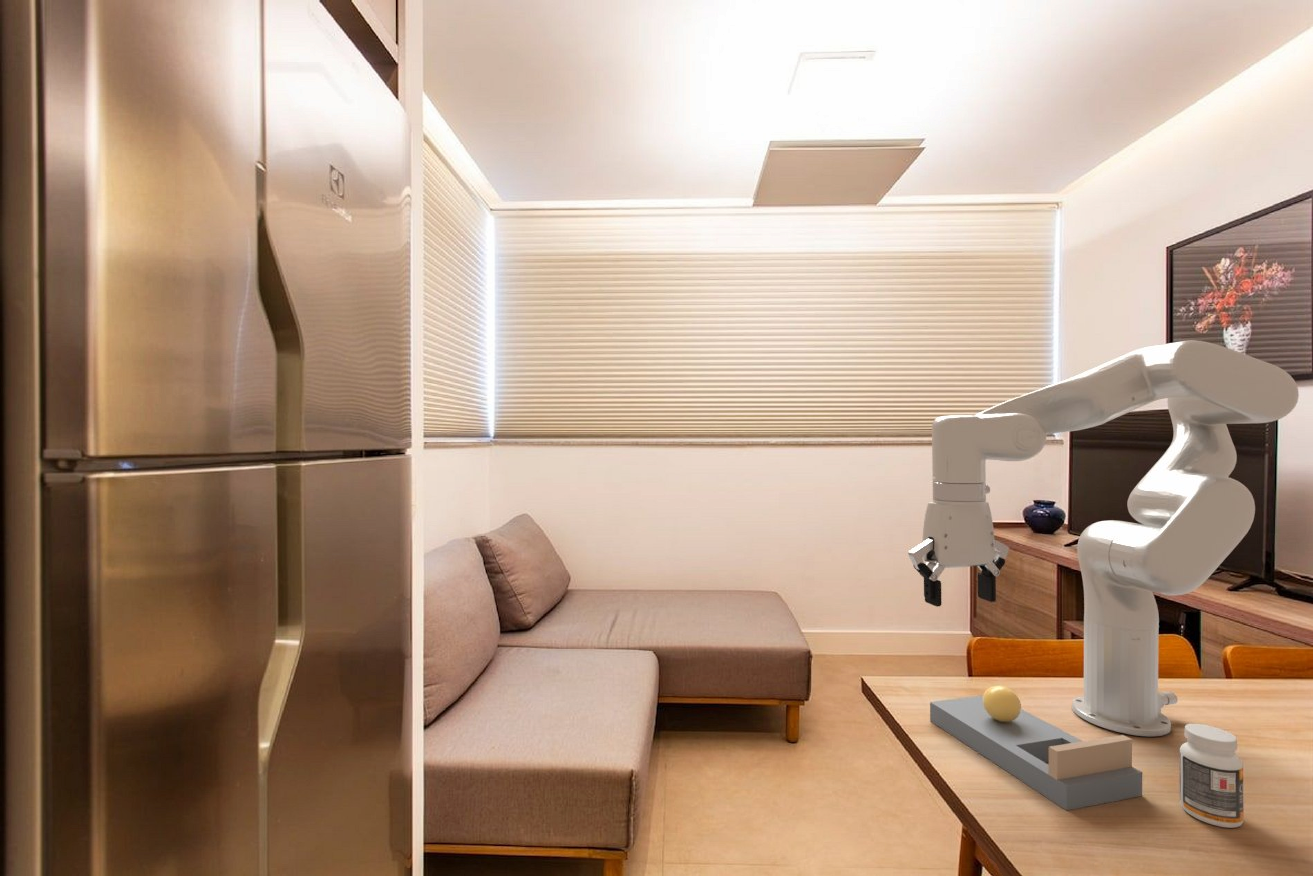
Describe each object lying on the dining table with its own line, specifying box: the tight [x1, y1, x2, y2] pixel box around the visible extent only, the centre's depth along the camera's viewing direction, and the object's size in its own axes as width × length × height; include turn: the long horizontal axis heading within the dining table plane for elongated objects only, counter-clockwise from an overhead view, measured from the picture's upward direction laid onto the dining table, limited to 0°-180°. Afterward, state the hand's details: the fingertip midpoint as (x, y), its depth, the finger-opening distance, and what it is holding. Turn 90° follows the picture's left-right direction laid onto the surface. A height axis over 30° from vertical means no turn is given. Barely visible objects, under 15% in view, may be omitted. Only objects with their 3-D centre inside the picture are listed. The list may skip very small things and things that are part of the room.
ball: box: [983, 685, 1022, 722], centre depth 91 cm, size 5×5×5 cm
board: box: [929, 694, 1143, 811], centre depth 87 cm, size 12×24×6 cm, turn 15°
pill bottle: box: [1179, 723, 1244, 829], centre depth 73 cm, size 6×6×10 cm
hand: (960, 602), depth 97 cm, fingers open, 9 cm apart
